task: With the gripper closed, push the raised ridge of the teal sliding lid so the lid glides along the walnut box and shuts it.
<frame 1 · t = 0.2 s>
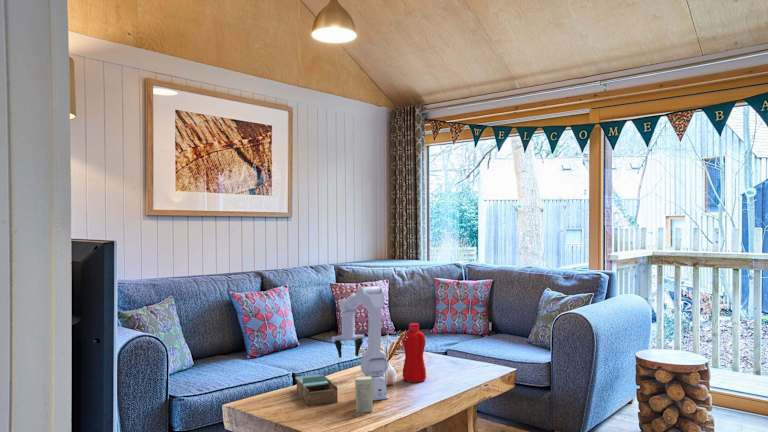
hand: (348, 356, 256), 10 cm above the table, tool pointing down, fingers open, 7 cm apart
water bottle: (412, 380, 254), on the table
box: (316, 398, 230), on the table
skincare box: (364, 410, 215), on the table
lid: (311, 377, 236), point 6 cm above the table, slide at 7.0 cm
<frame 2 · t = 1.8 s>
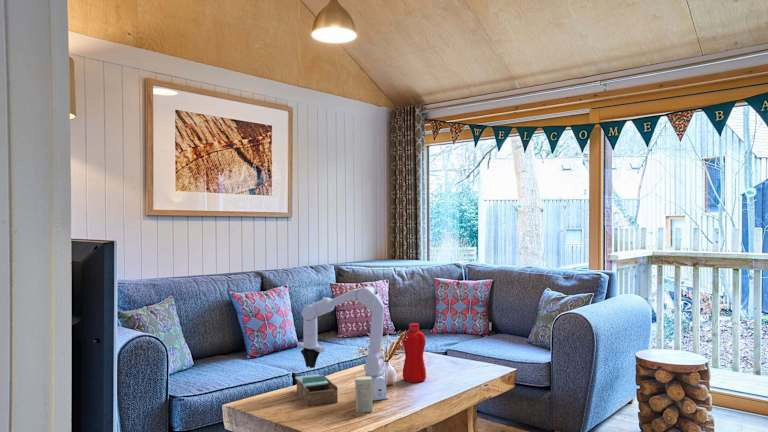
hand: (310, 367, 237), 10 cm above the table, tool pointing down, fingers closed
nothing on the table moved.
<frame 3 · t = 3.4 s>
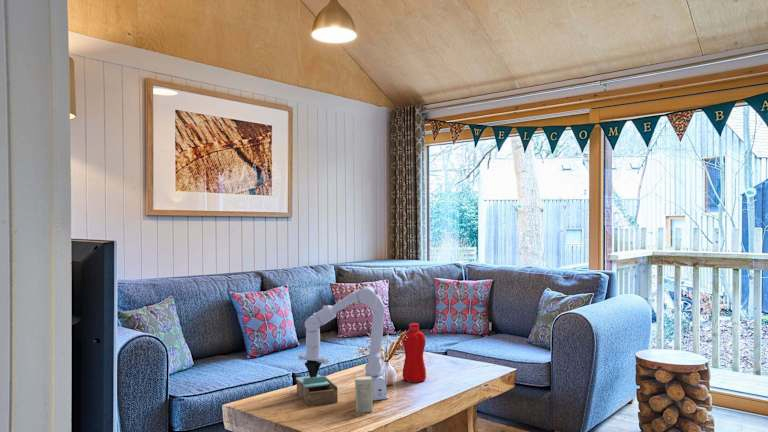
hand: (313, 379, 234), 6 cm above the table, tool pointing down, fingers closed
lid: (312, 378, 235), point 6 cm above the table, slide at 5.7 cm, touching gripper
everything else where it was.
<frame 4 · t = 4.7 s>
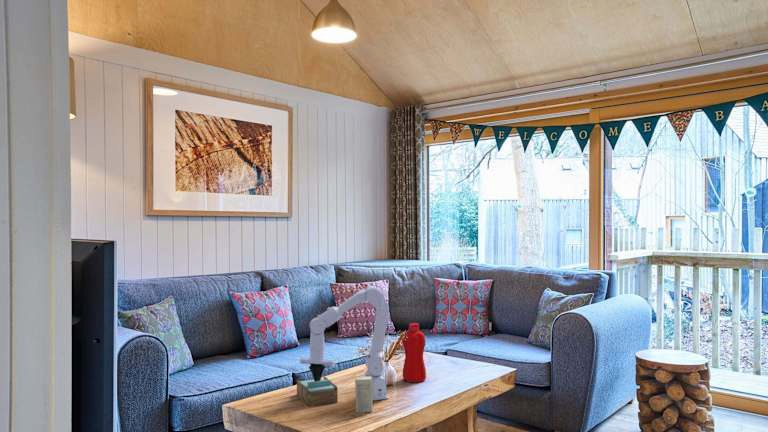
hand: (317, 383, 229), 6 cm above the table, tool pointing down, fingers closed
lid: (316, 382, 229), point 6 cm above the table, slide at -0.3 cm, touching gripper
everything else where it was.
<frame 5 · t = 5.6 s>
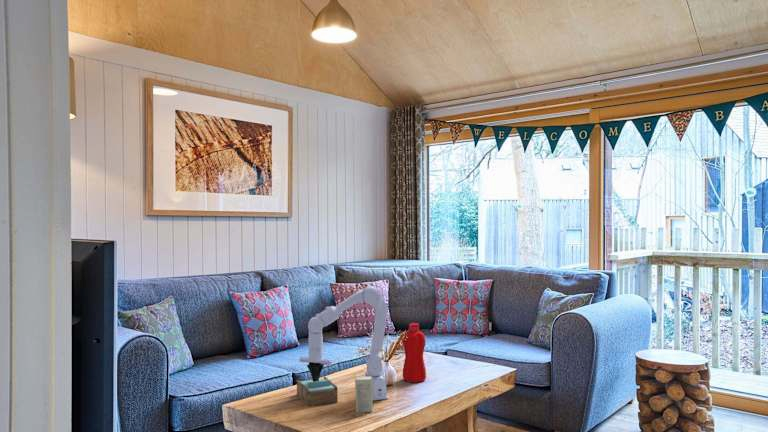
hand: (315, 381, 231), 6 cm above the table, tool pointing down, fingers closed
lid: (316, 382, 229), point 6 cm above the table, slide at -0.3 cm
everything else where it was.
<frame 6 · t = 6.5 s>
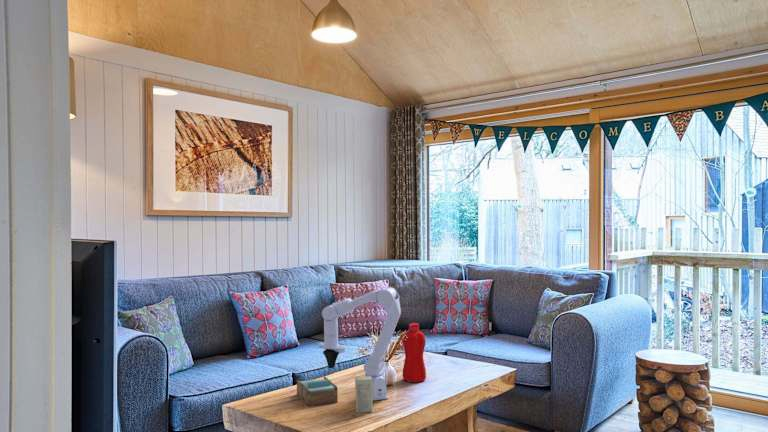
hand: (331, 367, 237), 10 cm above the table, tool pointing down, fingers closed
nothing on the table moved.
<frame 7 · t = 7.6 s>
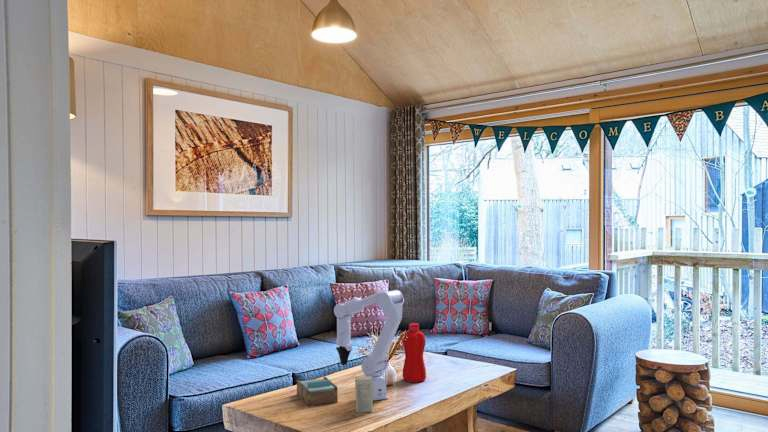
hand: (343, 364, 242), 10 cm above the table, tool pointing down, fingers closed
nothing on the table moved.
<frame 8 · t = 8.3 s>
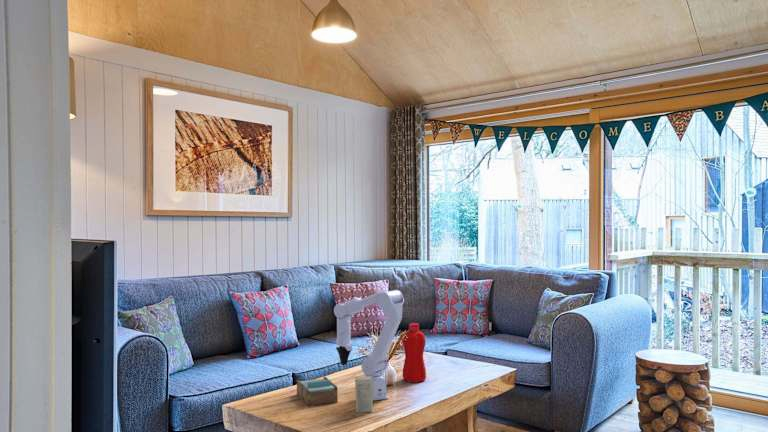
hand: (343, 364, 242), 10 cm above the table, tool pointing down, fingers closed
nothing on the table moved.
at the end: lid slide at -0.3 cm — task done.
